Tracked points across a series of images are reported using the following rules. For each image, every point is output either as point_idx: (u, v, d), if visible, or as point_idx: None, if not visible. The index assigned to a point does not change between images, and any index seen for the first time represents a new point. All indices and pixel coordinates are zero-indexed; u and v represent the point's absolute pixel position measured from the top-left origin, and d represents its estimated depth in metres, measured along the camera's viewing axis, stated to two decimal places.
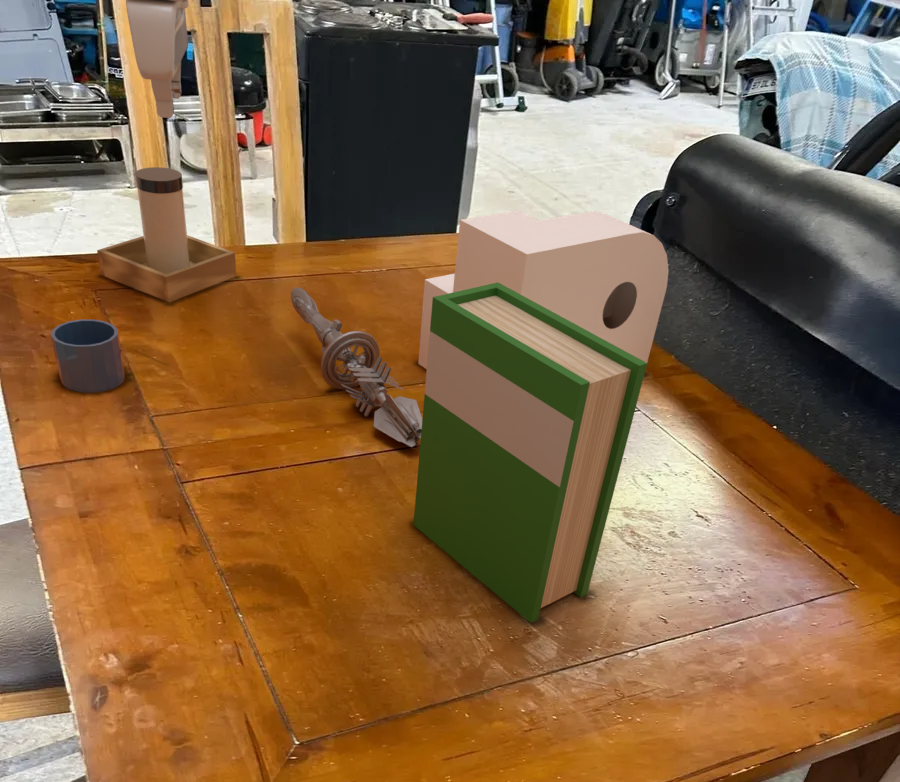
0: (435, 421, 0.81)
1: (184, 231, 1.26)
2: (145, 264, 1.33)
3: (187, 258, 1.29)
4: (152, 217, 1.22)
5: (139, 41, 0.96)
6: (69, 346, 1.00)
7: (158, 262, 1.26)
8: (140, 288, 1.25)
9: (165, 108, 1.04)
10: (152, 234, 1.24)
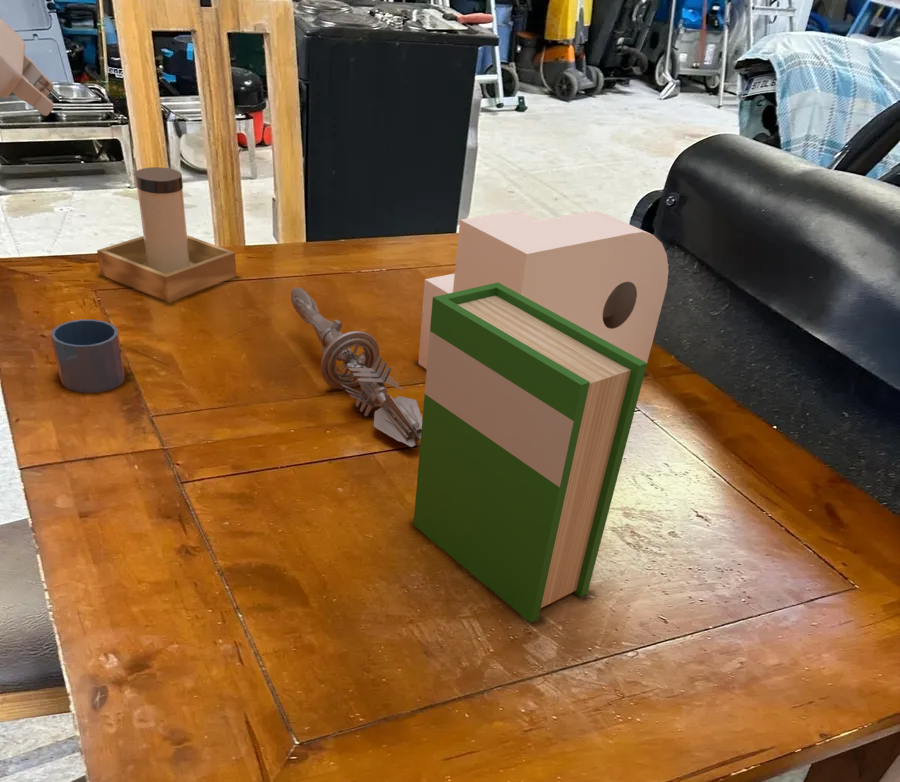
0: (435, 421, 0.81)
1: (184, 231, 1.26)
2: (145, 264, 1.33)
3: (187, 258, 1.29)
4: (152, 217, 1.22)
5: None
6: (69, 346, 1.00)
7: (158, 262, 1.26)
8: (140, 288, 1.25)
9: (43, 105, 1.08)
10: (152, 234, 1.24)
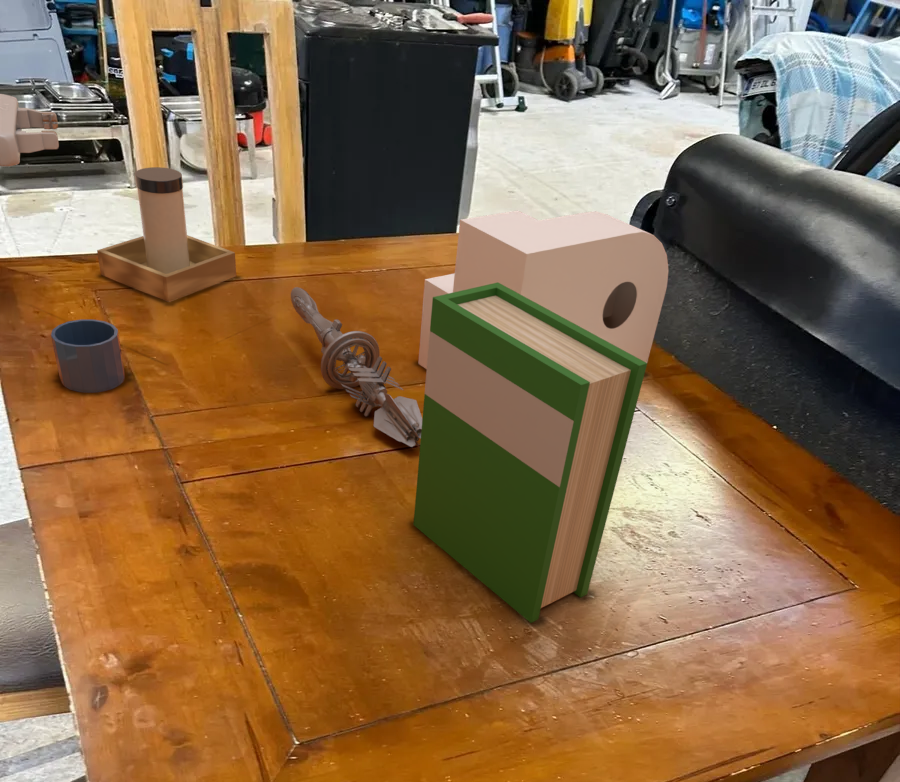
0: (435, 421, 0.81)
1: (184, 231, 1.26)
2: (145, 264, 1.33)
3: (187, 258, 1.29)
4: (152, 217, 1.22)
5: None
6: (69, 346, 1.00)
7: (158, 262, 1.26)
8: (140, 288, 1.25)
9: None
10: (152, 234, 1.24)
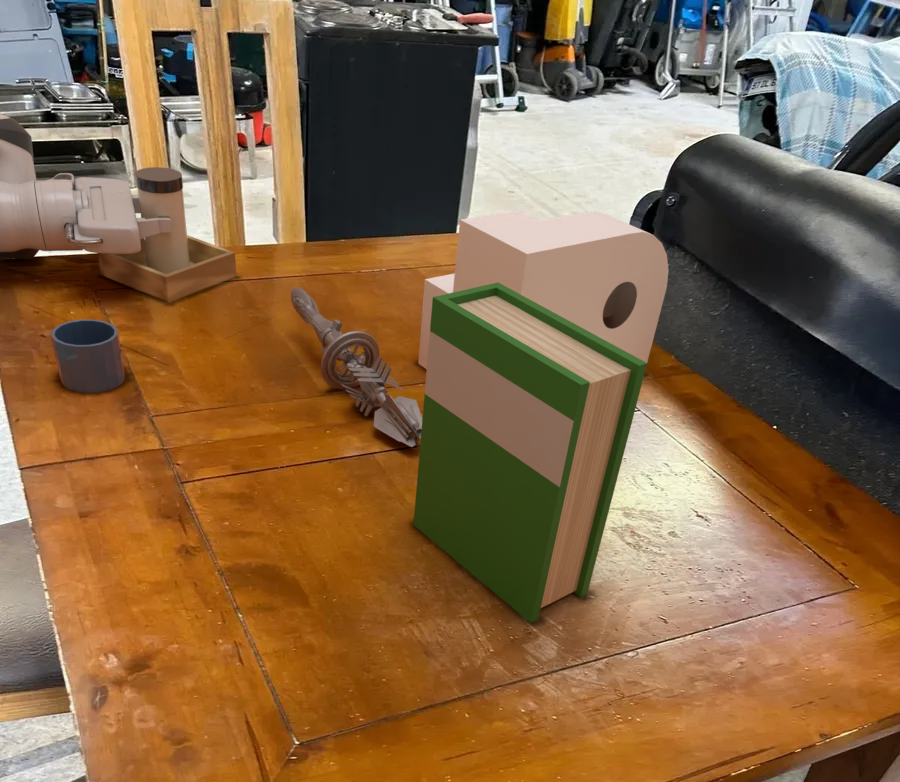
0: (435, 421, 0.81)
1: (184, 231, 1.26)
2: (145, 264, 1.33)
3: (187, 258, 1.29)
4: (152, 217, 1.22)
5: None
6: (69, 346, 1.00)
7: (158, 262, 1.26)
8: (140, 288, 1.25)
9: None
10: None
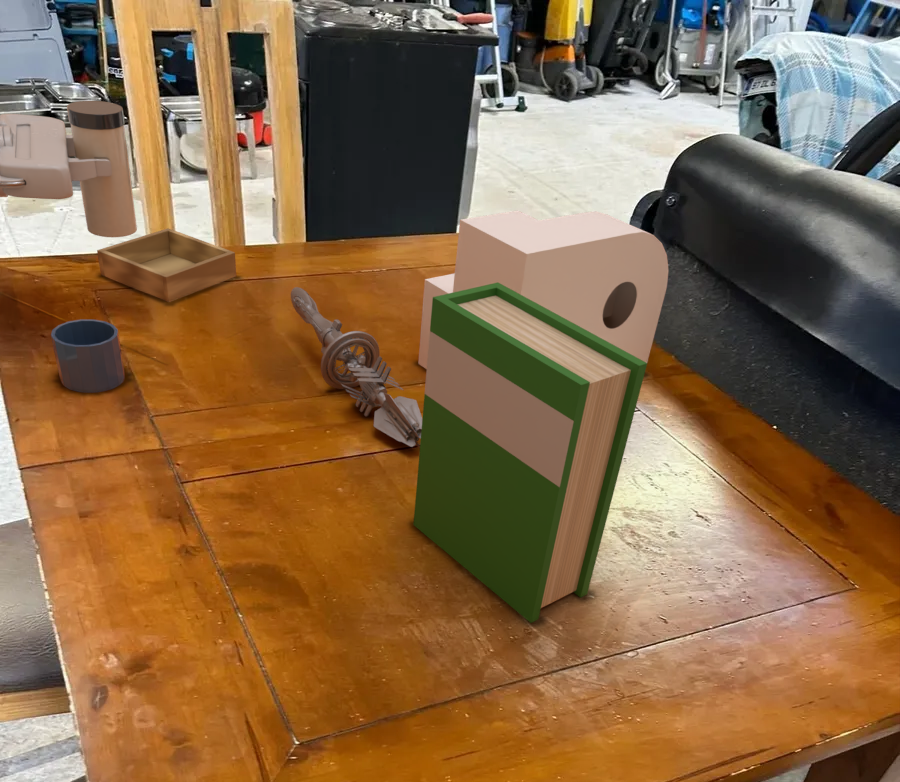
0: (435, 421, 0.81)
1: (127, 176, 1.09)
2: (145, 264, 1.33)
3: (132, 208, 1.11)
4: (88, 158, 1.05)
5: None
6: (69, 346, 1.00)
7: (97, 213, 1.09)
8: (140, 288, 1.25)
9: None
10: (89, 179, 1.07)
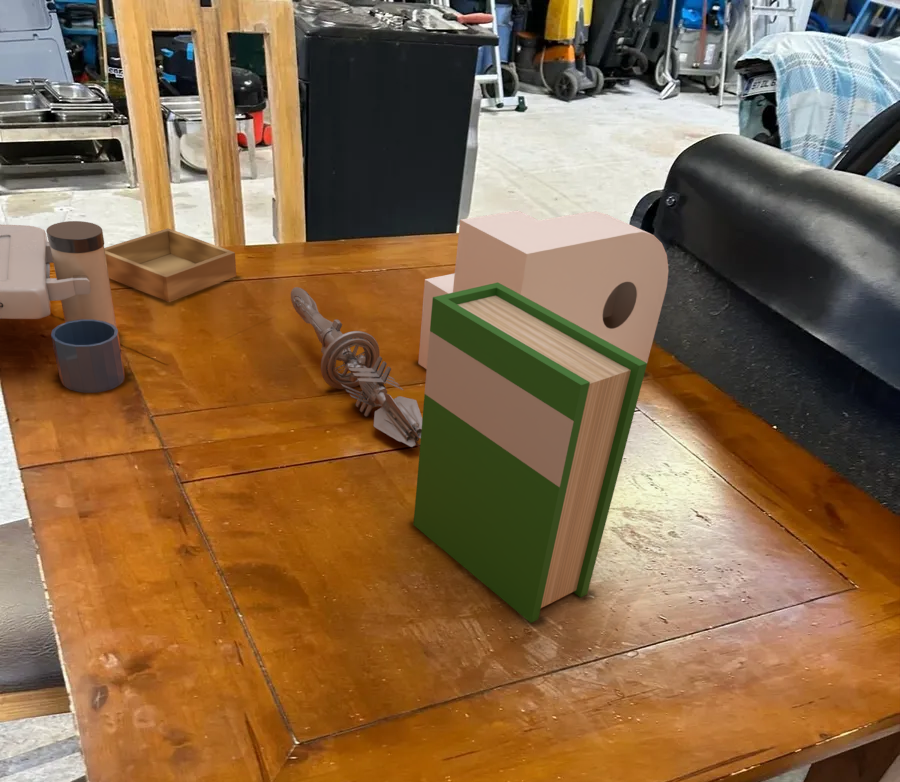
0: (435, 421, 0.81)
1: (107, 293, 1.09)
2: (145, 264, 1.33)
3: (113, 323, 1.12)
4: None
5: None
6: (69, 346, 1.00)
7: None
8: (140, 288, 1.25)
9: None
10: (70, 298, 1.07)
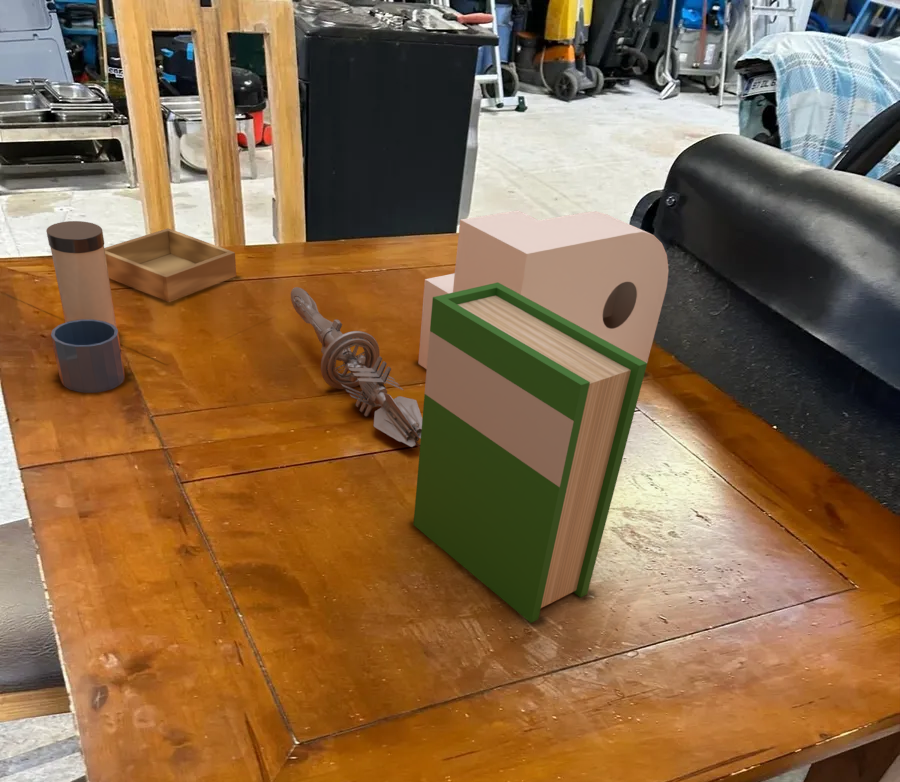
0: (435, 421, 0.81)
1: (107, 293, 1.09)
2: (145, 264, 1.33)
3: (113, 323, 1.12)
4: (67, 279, 1.06)
5: None
6: (69, 346, 1.00)
7: None
8: (140, 288, 1.25)
9: None
10: (70, 298, 1.07)
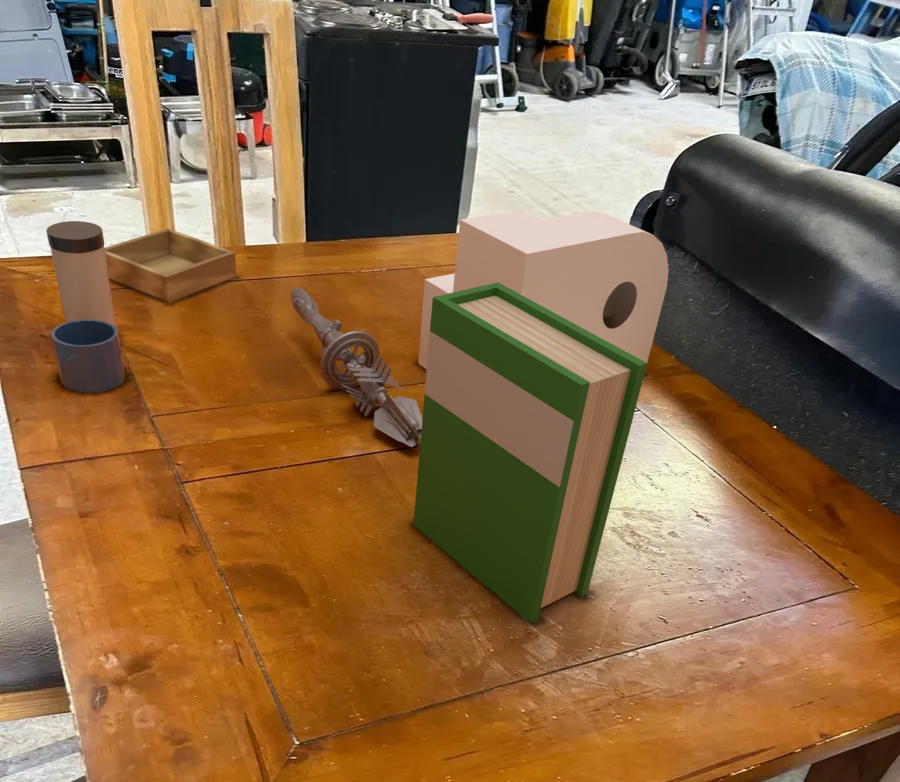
0: (435, 421, 0.81)
1: (107, 293, 1.09)
2: (145, 264, 1.33)
3: (113, 323, 1.12)
4: (67, 279, 1.06)
5: None
6: (69, 346, 1.00)
7: None
8: (140, 288, 1.25)
9: None
10: (70, 298, 1.07)
